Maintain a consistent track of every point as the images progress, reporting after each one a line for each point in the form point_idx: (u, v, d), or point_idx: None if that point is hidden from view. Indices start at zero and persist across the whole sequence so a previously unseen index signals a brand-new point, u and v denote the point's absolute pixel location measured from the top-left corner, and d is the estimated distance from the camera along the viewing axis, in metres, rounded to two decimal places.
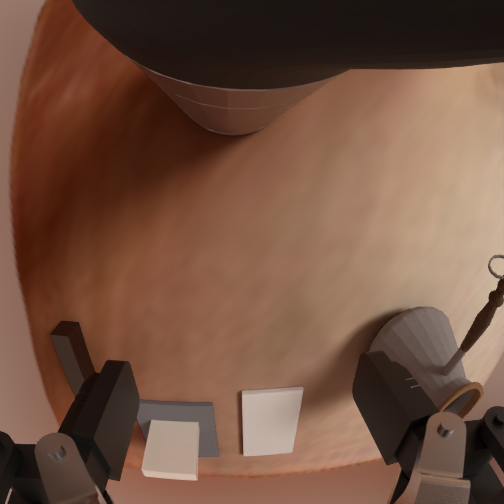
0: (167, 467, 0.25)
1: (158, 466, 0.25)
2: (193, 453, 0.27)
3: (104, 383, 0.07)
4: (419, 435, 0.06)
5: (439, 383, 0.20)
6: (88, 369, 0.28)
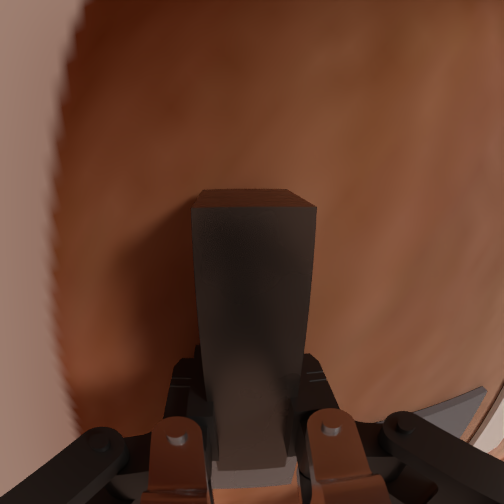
0: None
1: None
2: None
3: None
4: (305, 429, 0.07)
5: None
6: None
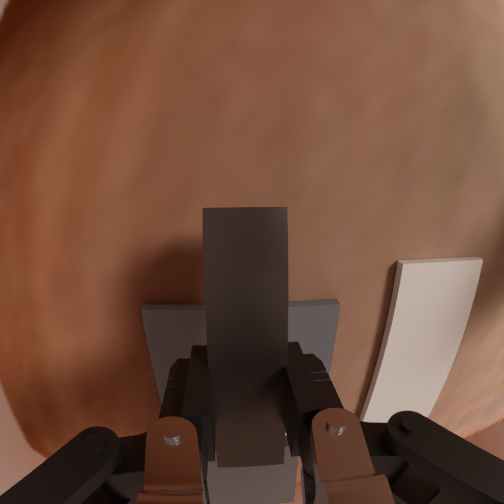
0: None
1: None
2: None
3: (199, 366, 0.09)
4: (310, 428, 0.07)
5: None
6: None
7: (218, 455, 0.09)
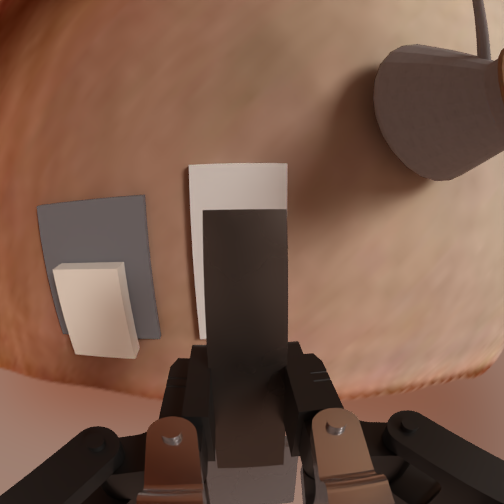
0: (100, 349, 0.22)
1: (90, 348, 0.22)
2: (124, 328, 0.21)
3: (199, 365, 0.09)
4: (310, 428, 0.07)
5: (482, 62, 0.10)
6: None
7: (218, 456, 0.09)
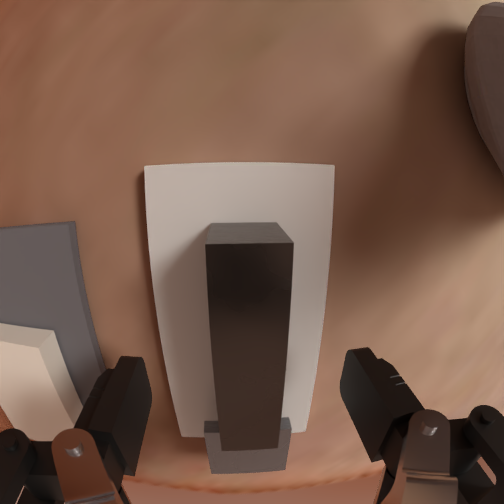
0: (46, 438, 0.12)
1: (34, 434, 0.12)
2: (68, 423, 0.11)
3: (119, 378, 0.08)
4: (402, 432, 0.06)
5: None
6: None
7: (222, 443, 0.10)
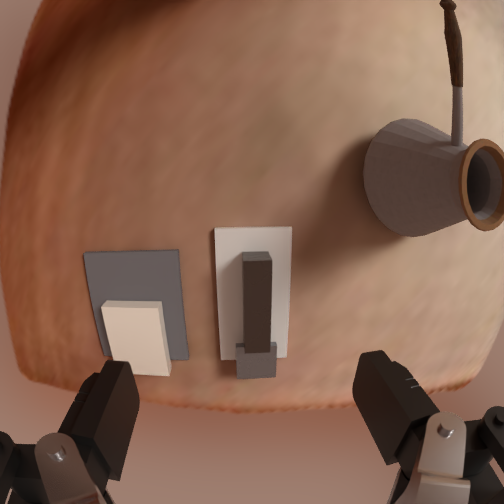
0: (140, 369, 0.28)
1: None
2: (161, 352, 0.28)
3: (104, 383, 0.07)
4: (419, 435, 0.06)
5: (452, 152, 0.17)
6: None
7: (245, 347, 0.27)
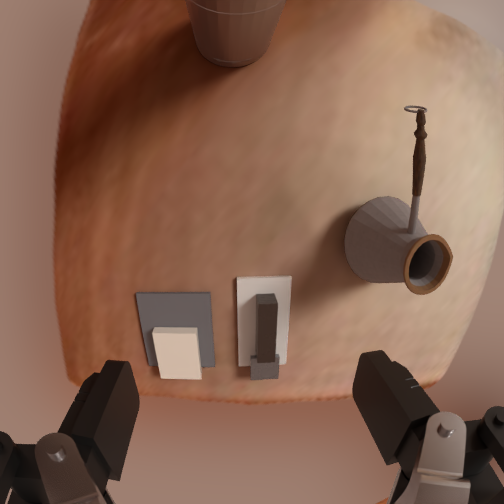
0: (179, 375, 0.39)
1: (172, 374, 0.39)
2: (197, 363, 0.39)
3: (104, 383, 0.07)
4: (419, 435, 0.06)
5: (406, 239, 0.28)
6: None
7: (258, 359, 0.38)
